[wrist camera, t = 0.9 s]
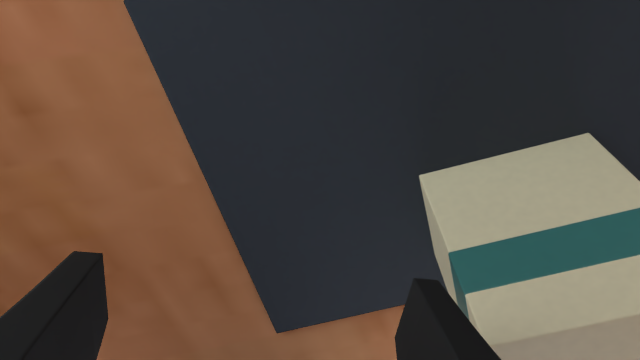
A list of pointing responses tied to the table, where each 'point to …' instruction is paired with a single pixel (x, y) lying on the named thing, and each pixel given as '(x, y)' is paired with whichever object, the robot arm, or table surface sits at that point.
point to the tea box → (542, 250)
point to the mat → (376, 121)
